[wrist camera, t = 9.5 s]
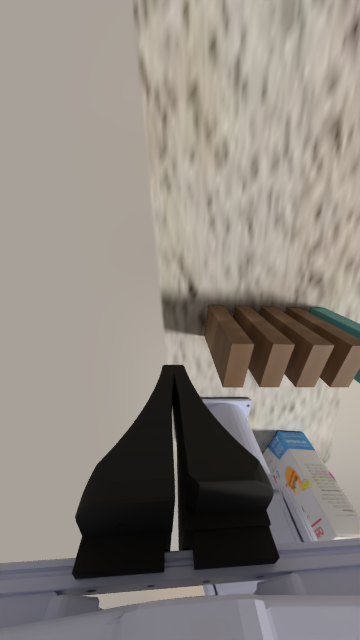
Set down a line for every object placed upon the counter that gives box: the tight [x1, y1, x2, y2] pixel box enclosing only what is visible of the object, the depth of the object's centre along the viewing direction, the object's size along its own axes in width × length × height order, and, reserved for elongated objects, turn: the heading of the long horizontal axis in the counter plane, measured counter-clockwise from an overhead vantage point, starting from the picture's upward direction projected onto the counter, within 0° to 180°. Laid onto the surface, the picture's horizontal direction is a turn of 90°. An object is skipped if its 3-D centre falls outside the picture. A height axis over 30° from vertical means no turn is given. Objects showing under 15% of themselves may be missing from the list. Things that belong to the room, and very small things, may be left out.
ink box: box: [263, 431, 360, 541], centre depth 25 cm, size 8×5×15 cm, turn 170°
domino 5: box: [310, 308, 360, 383], centre depth 18 cm, size 2×4×8 cm, turn 178°
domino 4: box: [285, 307, 360, 387], centre depth 17 cm, size 2×4×8 cm, turn 177°
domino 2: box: [233, 305, 295, 387], centre depth 17 cm, size 2×4×8 cm, turn 177°
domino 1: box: [205, 305, 254, 387], centre depth 17 cm, size 2×4×8 cm, turn 177°
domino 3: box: [259, 306, 335, 387], centre depth 17 cm, size 2×4×8 cm, turn 177°
